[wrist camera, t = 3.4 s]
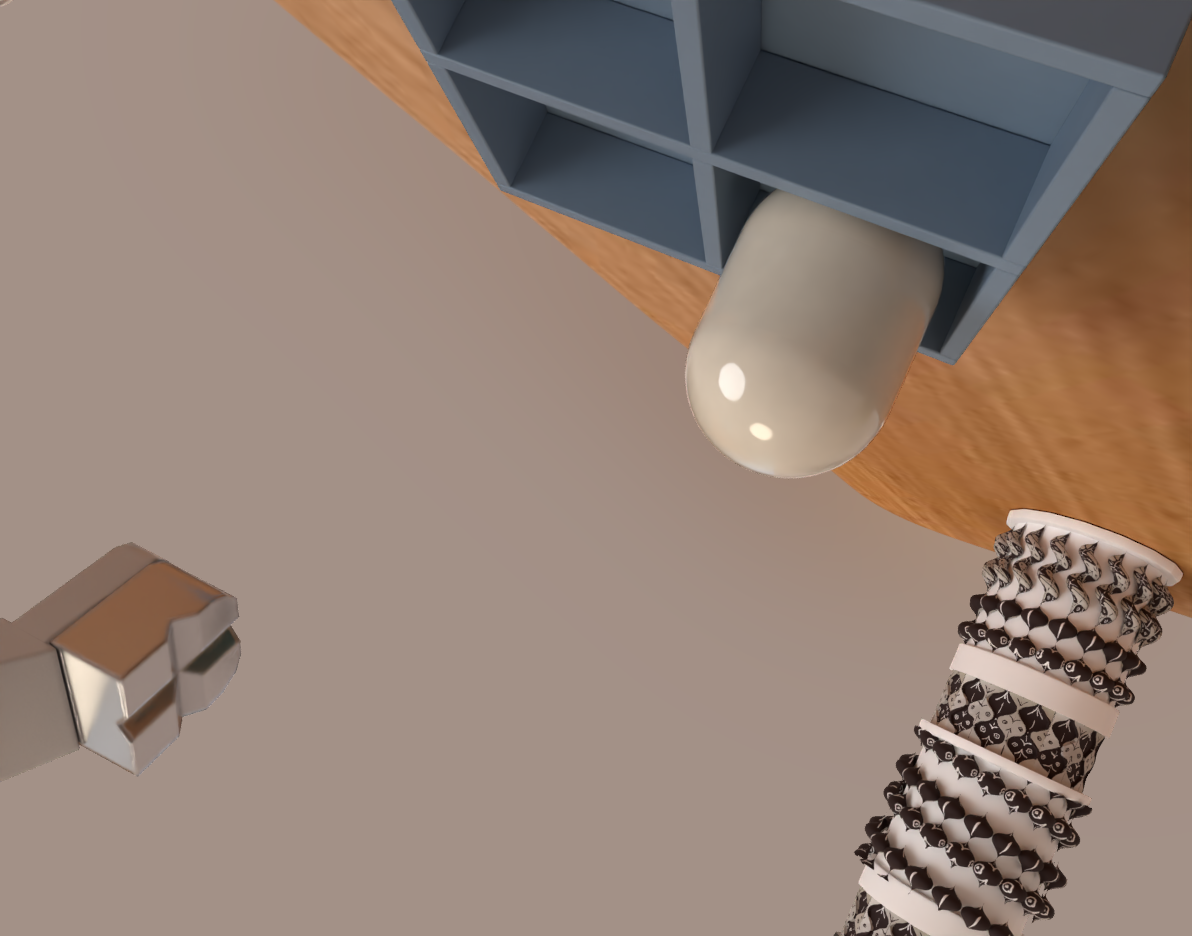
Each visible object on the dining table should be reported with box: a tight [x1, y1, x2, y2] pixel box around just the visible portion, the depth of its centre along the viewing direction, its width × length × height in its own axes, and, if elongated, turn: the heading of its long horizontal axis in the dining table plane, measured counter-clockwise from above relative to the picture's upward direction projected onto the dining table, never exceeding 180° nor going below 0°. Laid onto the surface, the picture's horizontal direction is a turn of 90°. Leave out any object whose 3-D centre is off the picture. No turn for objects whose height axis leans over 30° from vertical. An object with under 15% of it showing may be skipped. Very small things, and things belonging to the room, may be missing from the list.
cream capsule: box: [685, 188, 945, 478], centre depth 23 cm, size 5×5×8 cm
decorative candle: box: [834, 509, 1183, 936], centre depth 49 cm, size 9×9×25 cm
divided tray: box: [391, 0, 1192, 365], centre depth 20 cm, size 14×14×3 cm
